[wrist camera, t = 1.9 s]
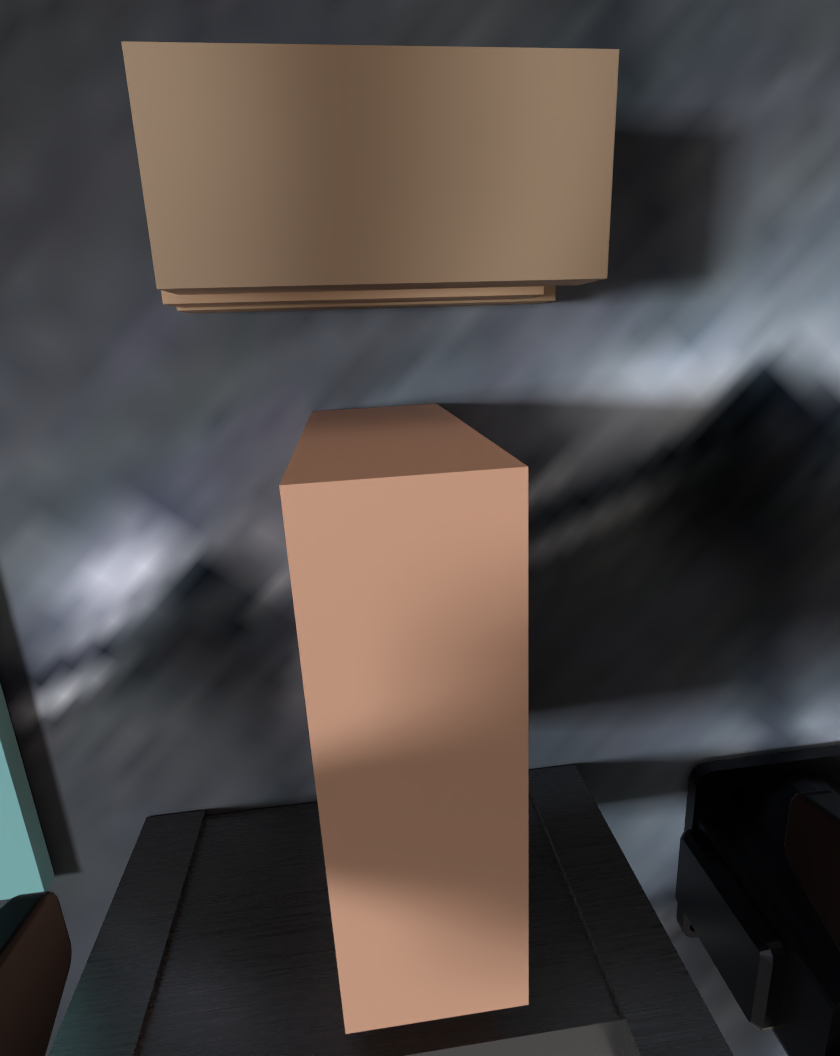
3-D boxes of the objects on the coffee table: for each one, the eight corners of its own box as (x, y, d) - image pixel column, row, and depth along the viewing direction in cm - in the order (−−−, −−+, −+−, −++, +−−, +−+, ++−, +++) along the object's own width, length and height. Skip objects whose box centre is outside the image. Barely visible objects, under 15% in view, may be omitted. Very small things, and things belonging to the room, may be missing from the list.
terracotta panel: (436, 403, 15) (528, 466, 8) (450, 721, 18) (528, 1004, 10) (312, 411, 15) (278, 485, 7) (344, 733, 18) (345, 1034, 10)
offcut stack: (540, 122, 14) (619, 34, 10) (536, 304, 15) (606, 290, 11) (168, 121, 13) (90, 25, 9) (192, 313, 14) (133, 302, 10)
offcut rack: (574, 764, 19) (733, 1055, 11) (573, 808, 19) (725, 1115, 12) (146, 817, 18) (-5, 1184, 10) (156, 862, 18) (19, 1246, 10)
